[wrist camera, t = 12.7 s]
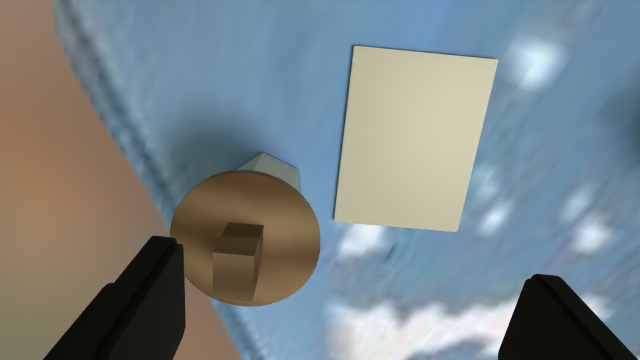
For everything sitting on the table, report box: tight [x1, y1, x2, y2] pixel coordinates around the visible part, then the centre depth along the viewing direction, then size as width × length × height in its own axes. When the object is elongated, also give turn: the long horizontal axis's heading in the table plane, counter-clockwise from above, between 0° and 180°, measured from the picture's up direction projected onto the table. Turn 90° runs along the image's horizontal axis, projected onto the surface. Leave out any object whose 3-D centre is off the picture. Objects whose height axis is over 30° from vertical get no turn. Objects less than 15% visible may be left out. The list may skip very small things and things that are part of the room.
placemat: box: [334, 46, 498, 232], centre depth 43 cm, size 20×15×1 cm
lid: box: [170, 170, 320, 306], centre depth 31 cm, size 13×13×6 cm
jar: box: [236, 153, 301, 194], centre depth 40 cm, size 9×8×12 cm
